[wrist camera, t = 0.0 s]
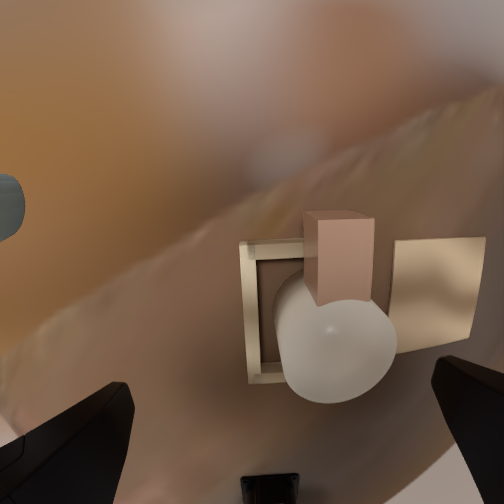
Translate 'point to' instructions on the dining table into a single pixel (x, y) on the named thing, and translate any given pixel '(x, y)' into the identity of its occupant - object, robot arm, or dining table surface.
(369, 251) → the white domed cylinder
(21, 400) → the dining table surface
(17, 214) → the cup
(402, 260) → the coaster
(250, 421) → the dining table surface
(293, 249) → the beige u-shaped bar frame
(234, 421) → the dining table surface
